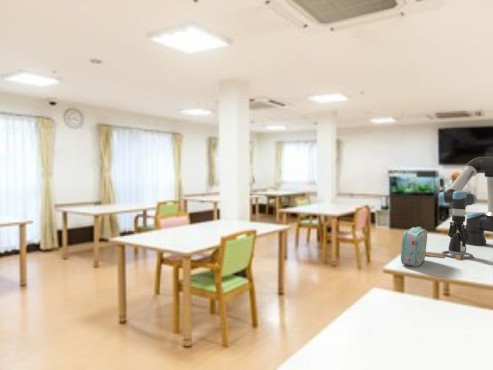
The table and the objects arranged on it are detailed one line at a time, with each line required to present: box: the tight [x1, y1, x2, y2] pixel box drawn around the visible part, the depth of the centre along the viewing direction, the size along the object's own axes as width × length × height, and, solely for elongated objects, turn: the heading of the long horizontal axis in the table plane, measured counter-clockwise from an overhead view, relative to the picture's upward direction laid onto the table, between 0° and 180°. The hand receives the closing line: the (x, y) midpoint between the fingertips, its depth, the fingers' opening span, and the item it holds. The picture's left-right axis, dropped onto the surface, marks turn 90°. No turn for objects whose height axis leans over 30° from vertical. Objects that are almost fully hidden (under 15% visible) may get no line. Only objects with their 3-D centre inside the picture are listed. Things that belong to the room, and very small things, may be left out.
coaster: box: [425, 251, 445, 259], centre depth 255 cm, size 11×11×1 cm
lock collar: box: [441, 250, 474, 261], centre depth 254 cm, size 22×18×2 cm
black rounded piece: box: [447, 232, 467, 257], centre depth 253 cm, size 10×10×15 cm
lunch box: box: [400, 226, 428, 268], centre depth 235 cm, size 27×10×21 cm, turn 145°
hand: (457, 249), depth 253 cm, fingers closed on black rounded piece, 10 cm apart
